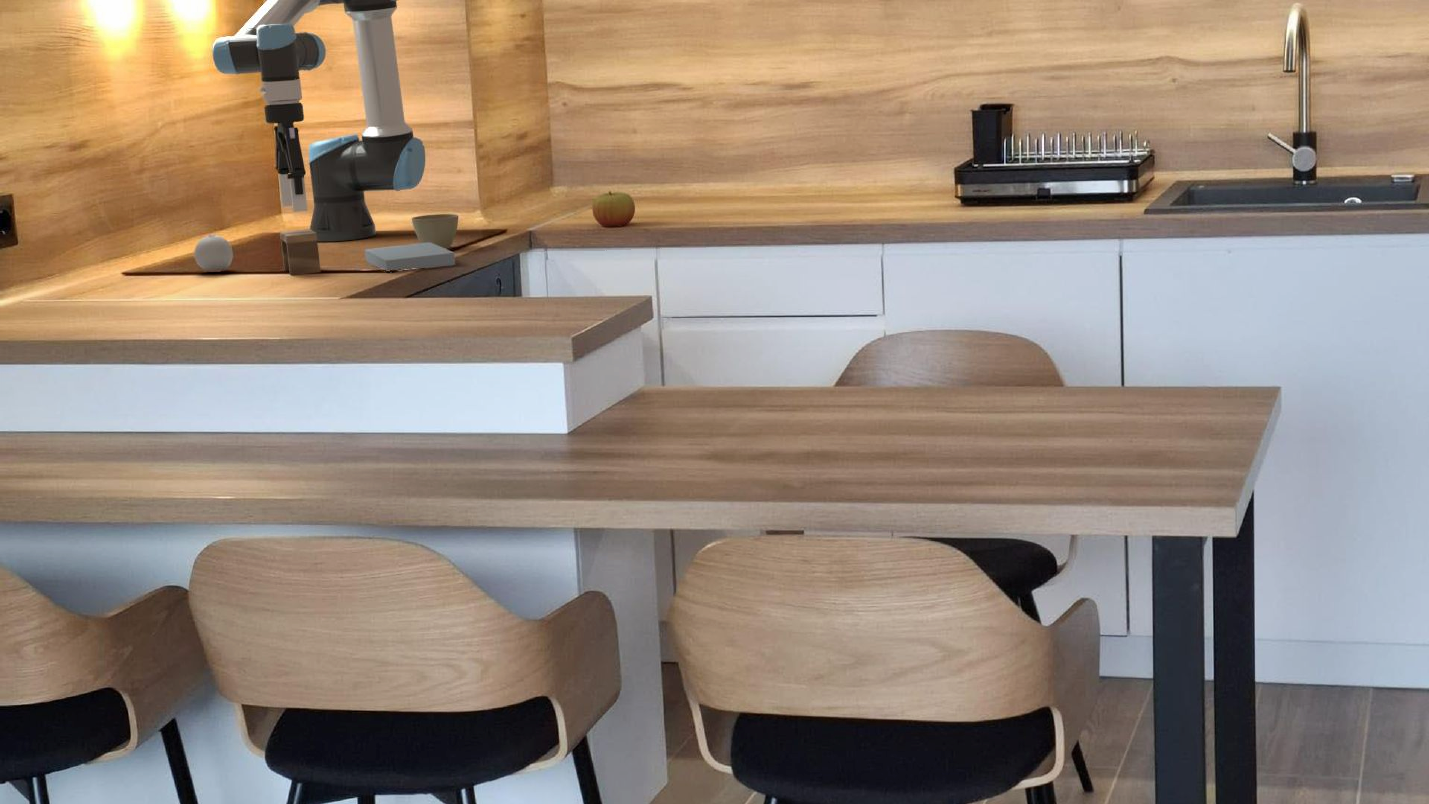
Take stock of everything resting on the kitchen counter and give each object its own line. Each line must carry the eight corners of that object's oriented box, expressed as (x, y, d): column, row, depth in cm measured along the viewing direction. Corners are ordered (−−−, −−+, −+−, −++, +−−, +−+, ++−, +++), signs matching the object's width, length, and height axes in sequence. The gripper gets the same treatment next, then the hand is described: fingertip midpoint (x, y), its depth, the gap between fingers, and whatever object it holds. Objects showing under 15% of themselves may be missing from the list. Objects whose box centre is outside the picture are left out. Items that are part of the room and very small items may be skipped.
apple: (586, 228, 396) (583, 193, 395) (604, 222, 405) (602, 188, 403) (625, 228, 393) (622, 193, 391) (643, 222, 401) (640, 187, 400)
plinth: (365, 261, 365) (364, 249, 365) (431, 253, 371) (430, 242, 370) (387, 272, 347) (385, 260, 347) (455, 264, 353) (454, 252, 352)
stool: (284, 270, 359) (279, 232, 357) (313, 267, 361) (309, 228, 360) (290, 275, 352) (286, 236, 350) (320, 272, 354) (316, 232, 352)
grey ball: (201, 276, 358) (196, 237, 356) (193, 272, 364) (188, 234, 363) (238, 271, 361) (234, 233, 359) (230, 267, 368) (226, 230, 366)
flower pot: (452, 252, 371) (448, 218, 370) (407, 253, 373) (404, 220, 372) (467, 245, 381) (464, 212, 379) (424, 246, 383) (421, 214, 381)
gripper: (254, 102, 359) (266, 205, 363) (274, 105, 336) (286, 215, 341) (291, 99, 361) (302, 202, 366) (313, 102, 339) (324, 211, 344)
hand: (294, 208), depth 353 cm, fingers open, 13 cm apart
